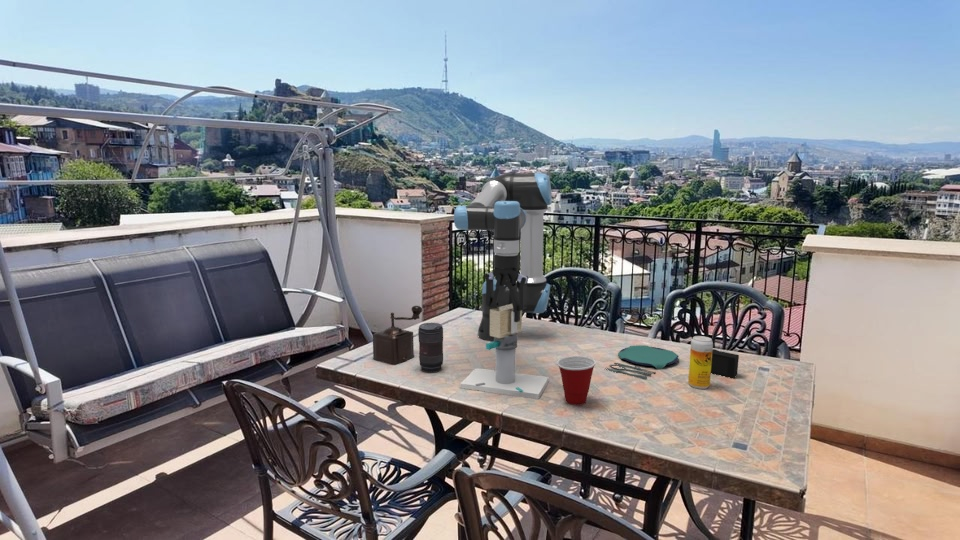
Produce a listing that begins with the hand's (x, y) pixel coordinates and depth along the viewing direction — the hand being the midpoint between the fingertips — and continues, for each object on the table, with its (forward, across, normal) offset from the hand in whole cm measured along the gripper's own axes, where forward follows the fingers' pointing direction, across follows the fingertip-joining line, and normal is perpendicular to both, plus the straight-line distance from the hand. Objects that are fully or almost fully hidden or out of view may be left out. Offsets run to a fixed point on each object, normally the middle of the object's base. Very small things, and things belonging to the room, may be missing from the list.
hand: (505, 330), depth 157 cm
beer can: (+17, +52, +29) cm, 62 cm away
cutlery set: (+18, +32, +42) cm, 55 cm away
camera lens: (+17, -27, 0) cm, 32 cm away
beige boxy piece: (+5, 0, -1) cm, 5 cm away
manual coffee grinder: (+17, -45, +5) cm, 48 cm away
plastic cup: (+17, +23, -1) cm, 28 cm away
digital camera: (+17, +56, +44) cm, 74 cm away
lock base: (+17, 0, 0) cm, 17 cm away
